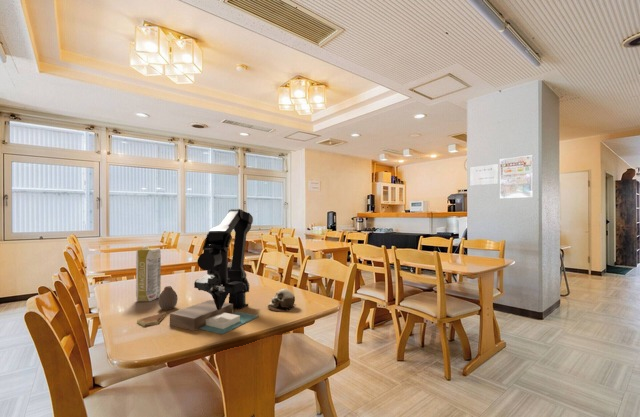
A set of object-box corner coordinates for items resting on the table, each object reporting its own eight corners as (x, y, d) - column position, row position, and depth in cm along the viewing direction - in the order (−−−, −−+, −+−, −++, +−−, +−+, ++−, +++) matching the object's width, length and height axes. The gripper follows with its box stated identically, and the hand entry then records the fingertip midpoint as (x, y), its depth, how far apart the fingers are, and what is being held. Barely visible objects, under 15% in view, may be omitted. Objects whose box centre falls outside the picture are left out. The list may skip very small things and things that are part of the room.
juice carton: (146, 296, 140) (146, 244, 140) (162, 296, 140) (163, 244, 140) (133, 302, 131) (133, 247, 131) (150, 302, 130) (151, 247, 131)
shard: (167, 315, 114) (167, 310, 114) (177, 319, 110) (177, 315, 110) (136, 324, 106) (136, 318, 106) (145, 329, 101) (145, 323, 101)
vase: (167, 312, 117) (167, 289, 117) (154, 310, 120) (154, 288, 120) (181, 306, 124) (181, 285, 124) (168, 305, 126) (168, 284, 126)
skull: (260, 308, 118) (269, 285, 125) (271, 319, 125) (278, 297, 132) (287, 310, 114) (295, 286, 120) (297, 322, 121) (303, 298, 127)
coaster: (223, 317, 109) (223, 312, 109) (240, 321, 105) (240, 315, 105) (205, 325, 102) (205, 319, 102) (223, 329, 98) (223, 323, 98)
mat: (237, 312, 116) (237, 311, 116) (258, 316, 111) (258, 315, 111) (200, 329, 100) (200, 327, 100) (222, 334, 95) (222, 333, 95)
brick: (210, 309, 119) (210, 299, 120) (233, 314, 114) (233, 303, 114) (169, 325, 103) (169, 313, 103) (194, 330, 98) (194, 318, 98)
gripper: (181, 266, 102) (181, 312, 102) (221, 271, 94) (221, 321, 94) (206, 262, 112) (206, 303, 112) (245, 265, 104) (245, 310, 104)
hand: (219, 309), depth 105 cm, fingers closed
